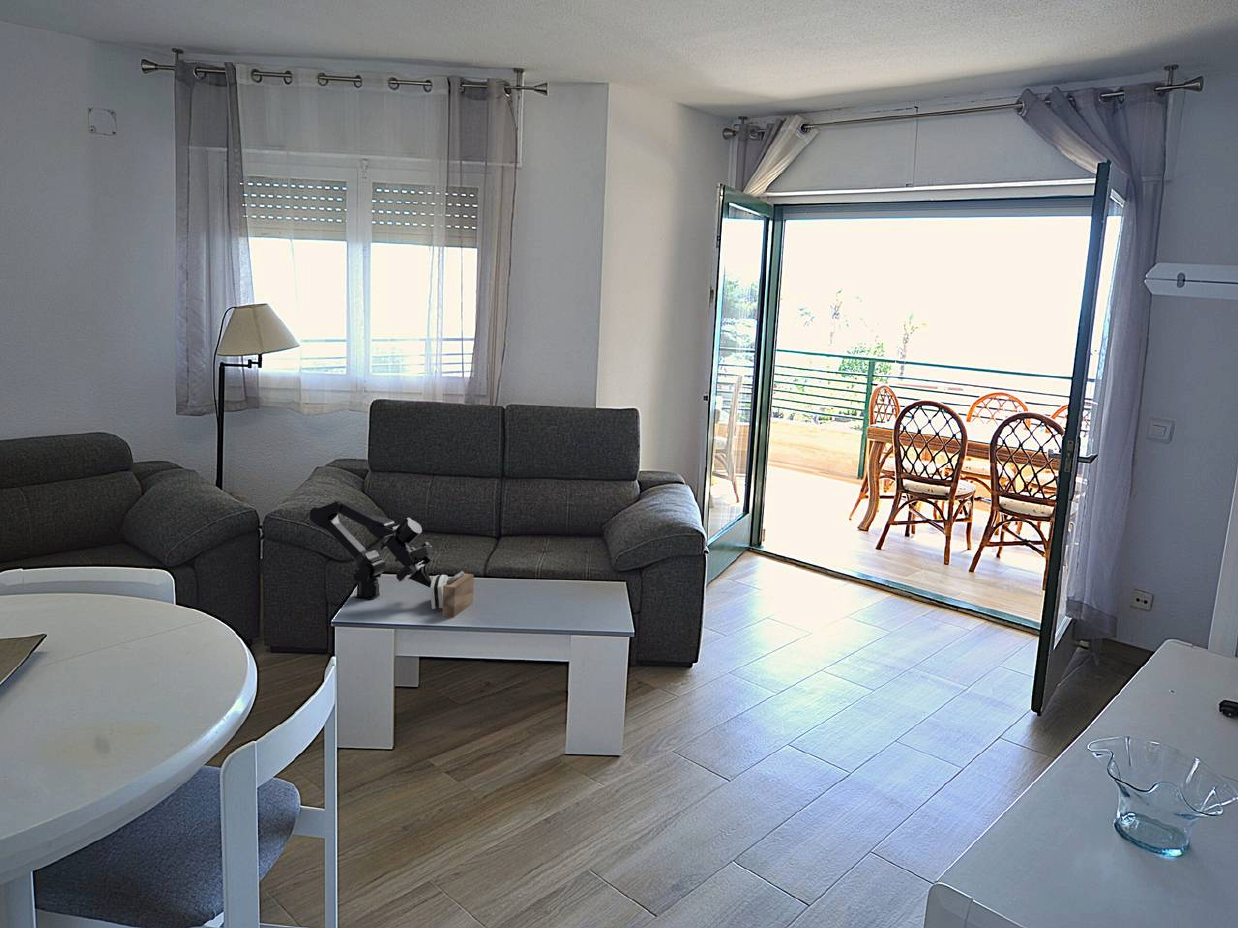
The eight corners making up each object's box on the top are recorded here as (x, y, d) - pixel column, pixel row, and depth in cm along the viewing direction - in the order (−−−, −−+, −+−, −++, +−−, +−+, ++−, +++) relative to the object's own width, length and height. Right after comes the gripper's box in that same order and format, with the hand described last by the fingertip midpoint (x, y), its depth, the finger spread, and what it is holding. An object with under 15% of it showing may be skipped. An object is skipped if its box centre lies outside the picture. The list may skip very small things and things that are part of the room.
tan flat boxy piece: (441, 615, 305) (442, 581, 303) (460, 601, 321) (461, 569, 320) (453, 617, 304) (455, 583, 302) (472, 602, 320) (473, 570, 319)
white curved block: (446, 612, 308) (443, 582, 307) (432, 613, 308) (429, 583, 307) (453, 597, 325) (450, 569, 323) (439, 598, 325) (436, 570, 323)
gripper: (405, 542, 303) (437, 578, 302) (429, 530, 321) (458, 565, 321) (382, 563, 306) (413, 599, 305) (407, 550, 324) (436, 585, 323)
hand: (431, 586), depth 313 cm, fingers closed
